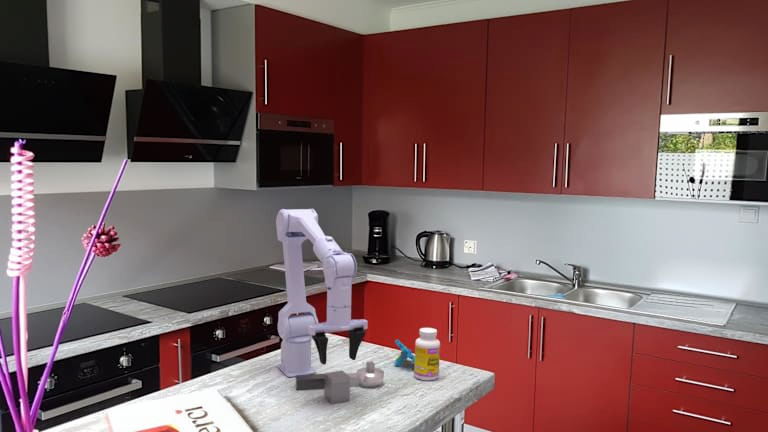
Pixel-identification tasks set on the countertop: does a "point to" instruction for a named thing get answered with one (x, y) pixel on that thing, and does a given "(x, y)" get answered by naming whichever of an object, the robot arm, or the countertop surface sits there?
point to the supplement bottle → (427, 355)
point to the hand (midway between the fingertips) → (337, 361)
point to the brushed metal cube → (336, 387)
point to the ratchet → (362, 378)
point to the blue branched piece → (404, 353)
